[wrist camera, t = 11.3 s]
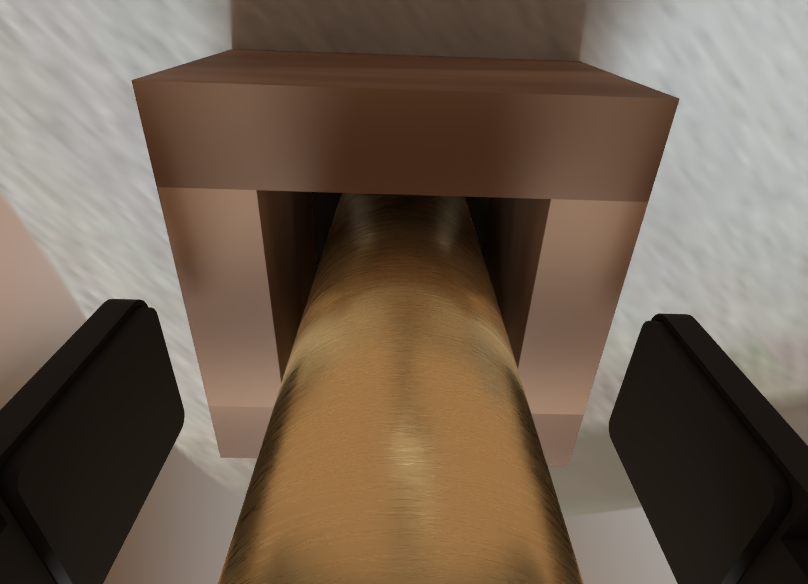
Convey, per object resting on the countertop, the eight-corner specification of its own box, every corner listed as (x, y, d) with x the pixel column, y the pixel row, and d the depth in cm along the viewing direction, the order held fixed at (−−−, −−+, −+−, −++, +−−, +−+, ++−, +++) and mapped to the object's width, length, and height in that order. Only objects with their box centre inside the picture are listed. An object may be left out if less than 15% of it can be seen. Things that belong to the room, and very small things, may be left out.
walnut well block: (231, 49, 14) (131, 80, 9) (580, 61, 14) (679, 98, 9) (269, 333, 19) (220, 457, 14) (524, 340, 19) (568, 464, 14)
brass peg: (334, 150, 16) (101, 675, 4) (473, 154, 16) (708, 684, 4) (339, 272, 18) (208, 844, 6) (461, 275, 18) (579, 847, 6)
